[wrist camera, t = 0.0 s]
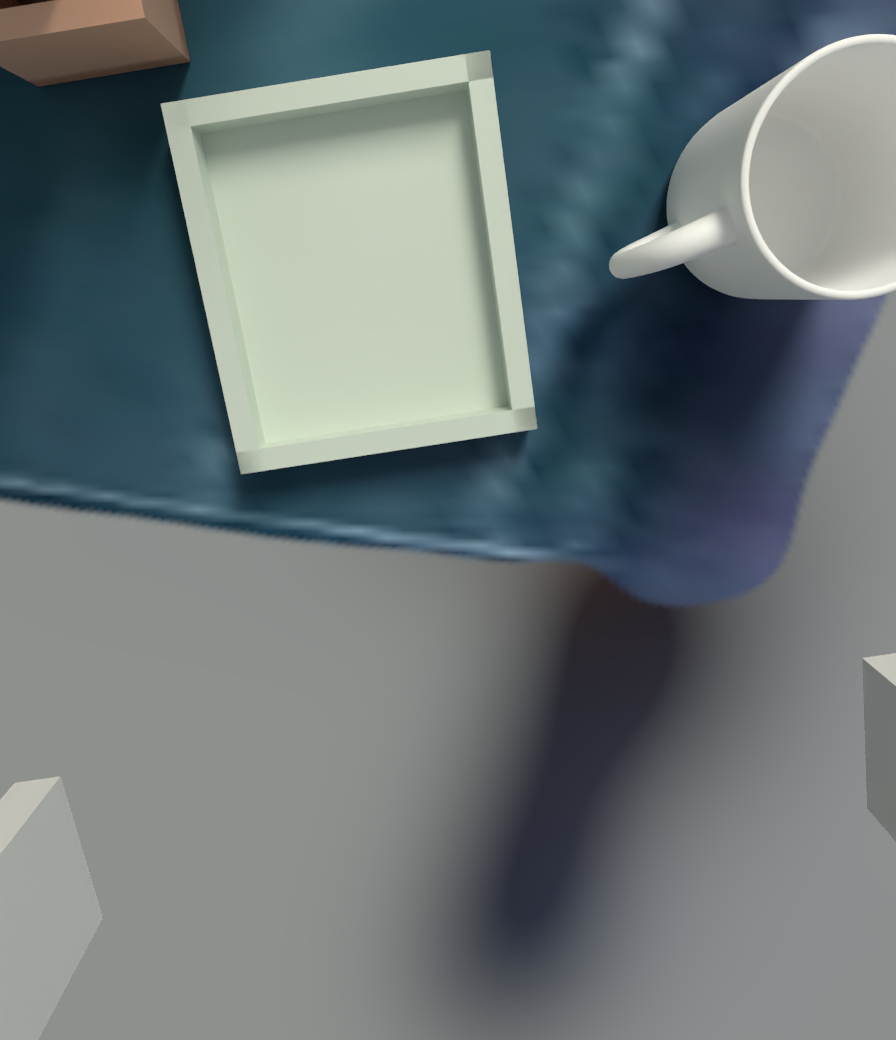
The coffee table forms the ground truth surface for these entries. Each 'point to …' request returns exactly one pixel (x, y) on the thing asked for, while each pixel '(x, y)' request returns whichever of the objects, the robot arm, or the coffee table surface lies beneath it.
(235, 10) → the coffee table surface
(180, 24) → the holder
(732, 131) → the cup
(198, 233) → the tray
